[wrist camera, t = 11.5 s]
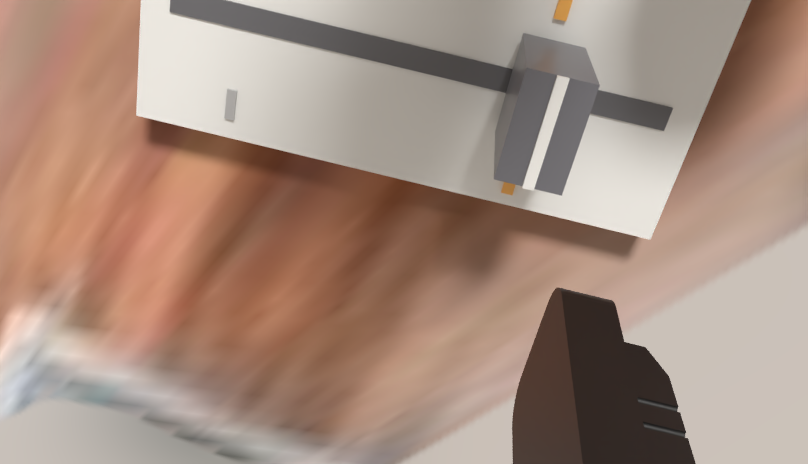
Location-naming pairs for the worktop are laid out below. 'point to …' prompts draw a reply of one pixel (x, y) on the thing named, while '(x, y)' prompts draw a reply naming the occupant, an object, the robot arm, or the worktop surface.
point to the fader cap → (544, 114)
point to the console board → (442, 87)
